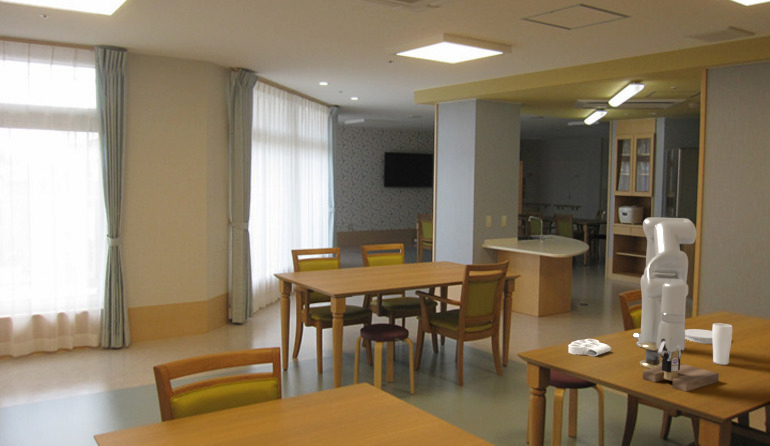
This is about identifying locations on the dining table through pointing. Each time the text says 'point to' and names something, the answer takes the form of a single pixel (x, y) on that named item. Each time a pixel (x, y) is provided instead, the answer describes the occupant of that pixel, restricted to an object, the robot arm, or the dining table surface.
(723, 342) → the drinking glass
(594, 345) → the knuckle duster
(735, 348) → the dining table surface
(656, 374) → the notched board
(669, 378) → the sprinkles bottle
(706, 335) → the lid
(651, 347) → the bobbin
